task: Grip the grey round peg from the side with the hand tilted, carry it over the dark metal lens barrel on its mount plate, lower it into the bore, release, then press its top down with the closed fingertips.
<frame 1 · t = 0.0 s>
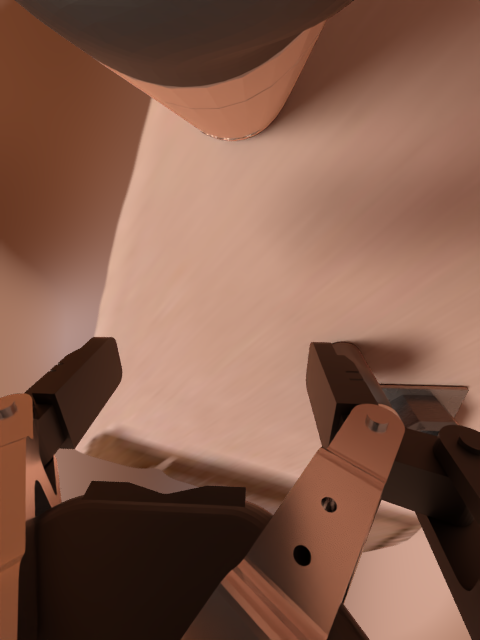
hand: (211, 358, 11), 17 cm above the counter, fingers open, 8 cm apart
grey round peg: (339, 360, 32), on the counter
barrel: (405, 418, 36), on the counter
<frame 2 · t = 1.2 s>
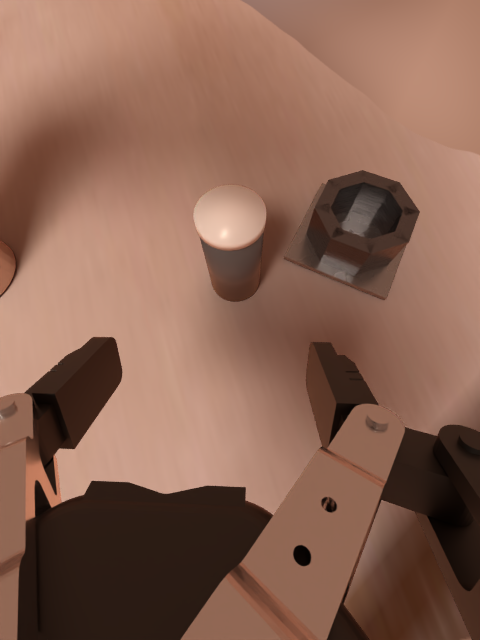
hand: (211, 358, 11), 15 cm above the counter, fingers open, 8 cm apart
grey round peg: (235, 279, 29), on the counter
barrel: (350, 238, 30), on the counter
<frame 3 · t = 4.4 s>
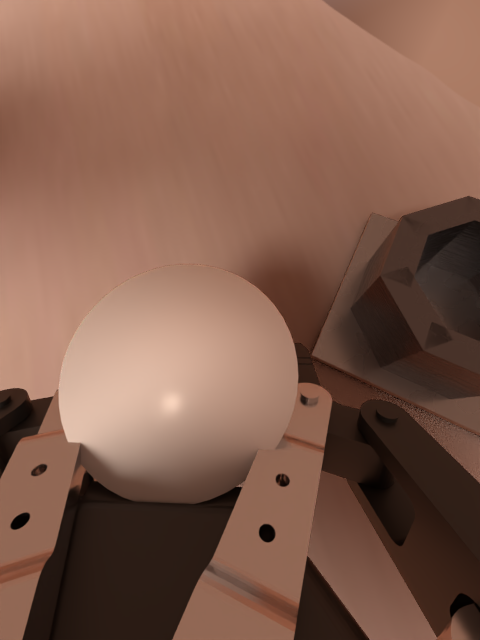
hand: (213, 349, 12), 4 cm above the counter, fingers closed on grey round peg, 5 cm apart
grey round peg: (221, 400, 15), on the counter, touching gripper
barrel: (429, 316, 17), on the counter
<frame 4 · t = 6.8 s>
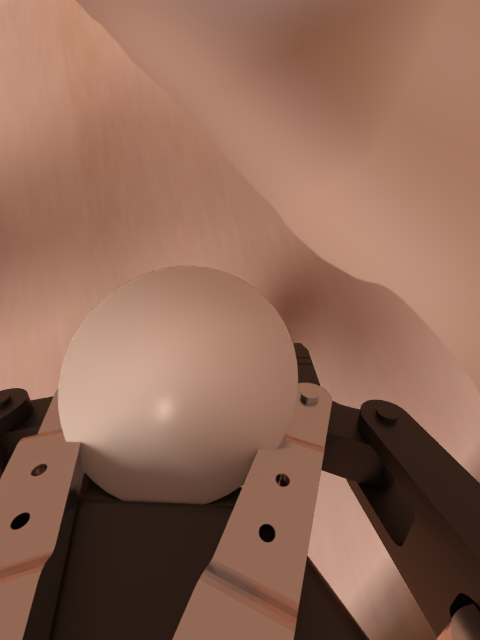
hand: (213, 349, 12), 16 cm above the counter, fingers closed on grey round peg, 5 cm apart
grey round peg: (221, 401, 15), point 12 cm above the counter, touching gripper
when the fingers open (6 cm above the counter, at t = 9.7 s): grey round peg drops 1 cm, resting on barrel.
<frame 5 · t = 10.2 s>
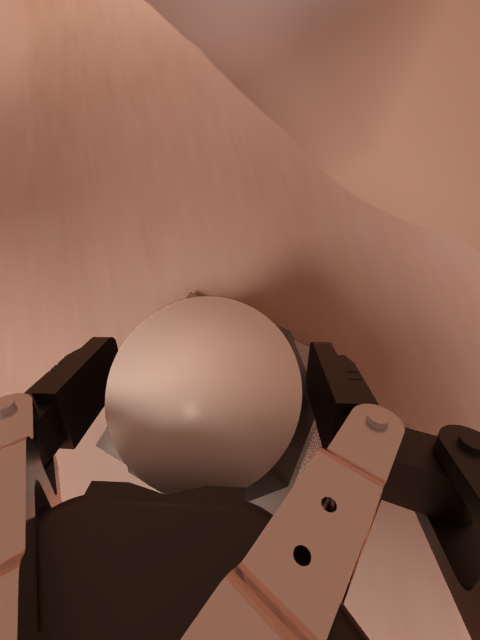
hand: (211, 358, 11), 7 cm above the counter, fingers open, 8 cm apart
grey round peg: (228, 405, 17), point 1 cm above the counter, touching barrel
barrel: (223, 402, 17), on the counter
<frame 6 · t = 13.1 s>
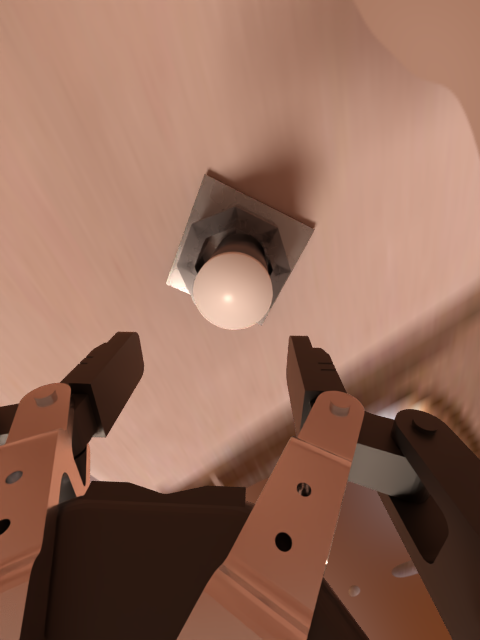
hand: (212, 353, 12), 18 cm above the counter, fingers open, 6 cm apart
grey round peg: (240, 259, 27), point 1 cm above the counter, touching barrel
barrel: (236, 257, 28), on the counter
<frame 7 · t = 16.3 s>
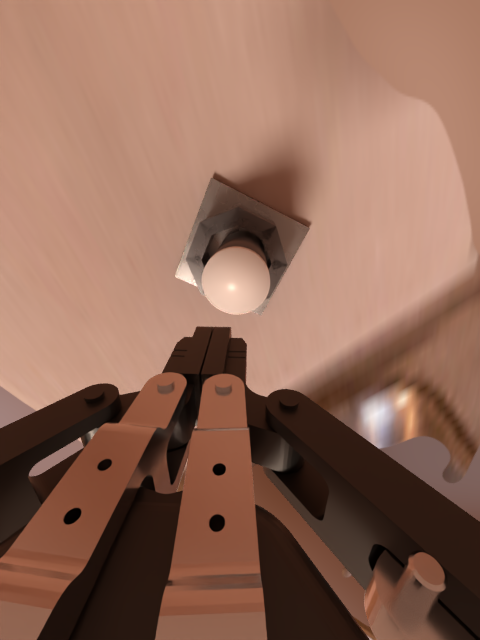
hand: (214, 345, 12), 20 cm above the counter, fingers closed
grey round peg: (242, 255, 30), point 1 cm above the counter, touching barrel
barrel: (239, 252, 30), on the counter
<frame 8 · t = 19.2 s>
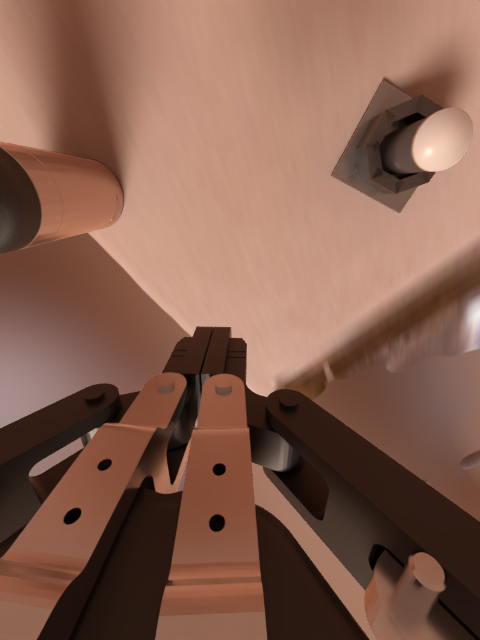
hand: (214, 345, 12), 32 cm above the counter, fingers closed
grey round peg: (395, 153, 36), point 1 cm above the counter, touching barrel
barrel: (390, 152, 36), on the counter
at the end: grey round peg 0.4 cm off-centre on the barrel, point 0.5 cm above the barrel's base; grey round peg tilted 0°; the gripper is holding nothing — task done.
